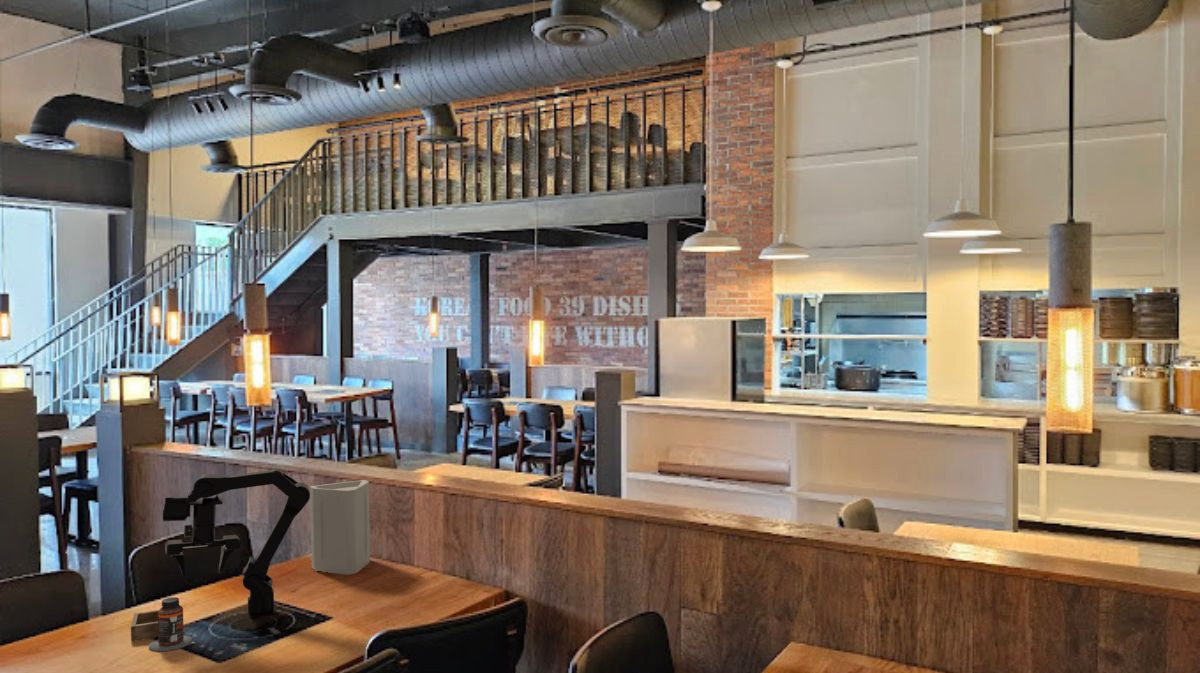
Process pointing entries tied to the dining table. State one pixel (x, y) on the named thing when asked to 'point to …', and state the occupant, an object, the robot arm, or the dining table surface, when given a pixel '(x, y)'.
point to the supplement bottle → (170, 622)
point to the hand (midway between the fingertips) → (201, 575)
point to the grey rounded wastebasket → (340, 527)
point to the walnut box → (144, 625)
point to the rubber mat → (159, 648)
